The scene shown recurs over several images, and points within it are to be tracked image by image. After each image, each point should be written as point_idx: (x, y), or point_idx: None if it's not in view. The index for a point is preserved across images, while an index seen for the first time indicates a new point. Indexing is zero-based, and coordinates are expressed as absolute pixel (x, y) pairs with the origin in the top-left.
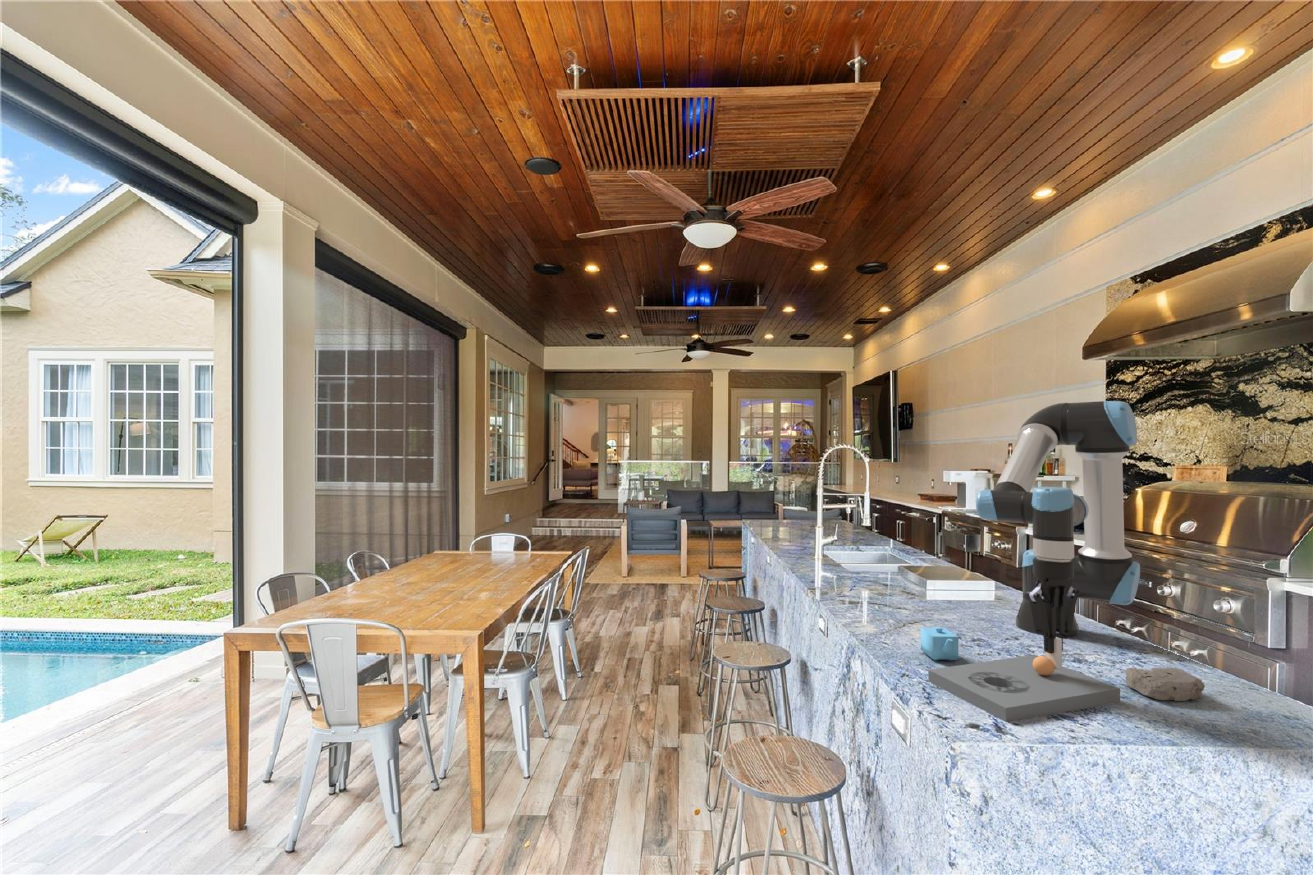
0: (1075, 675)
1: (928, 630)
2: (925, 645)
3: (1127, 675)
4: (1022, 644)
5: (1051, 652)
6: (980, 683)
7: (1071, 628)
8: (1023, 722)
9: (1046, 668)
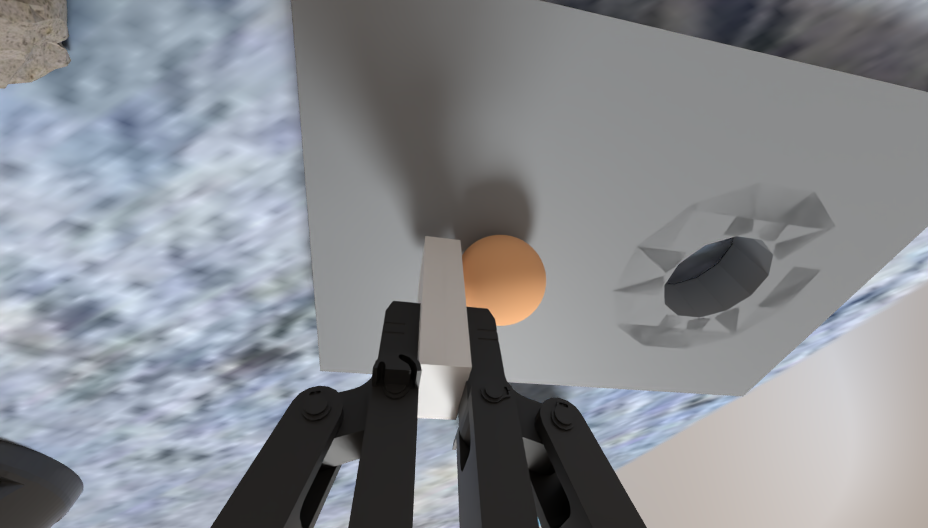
0: (360, 194)
1: (538, 520)
2: None
3: (6, 71)
4: (186, 430)
5: (480, 312)
6: (775, 295)
7: (275, 430)
8: (905, 76)
9: (537, 254)
